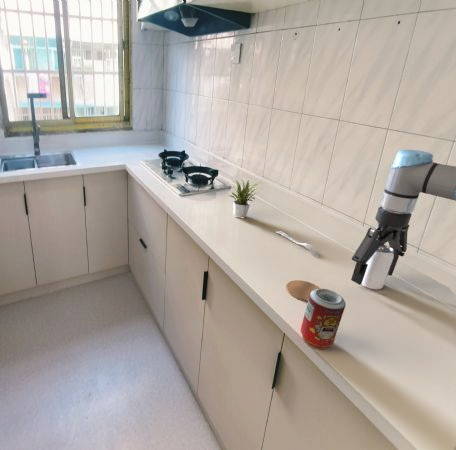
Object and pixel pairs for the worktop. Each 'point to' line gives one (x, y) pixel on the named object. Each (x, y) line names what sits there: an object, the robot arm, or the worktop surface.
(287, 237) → the fork
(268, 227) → the worktop surface
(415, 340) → the worktop surface
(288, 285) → the cork coaster
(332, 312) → the soda can
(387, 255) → the can
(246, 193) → the house plant
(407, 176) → the robot arm
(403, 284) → the worktop surface
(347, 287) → the worktop surface
